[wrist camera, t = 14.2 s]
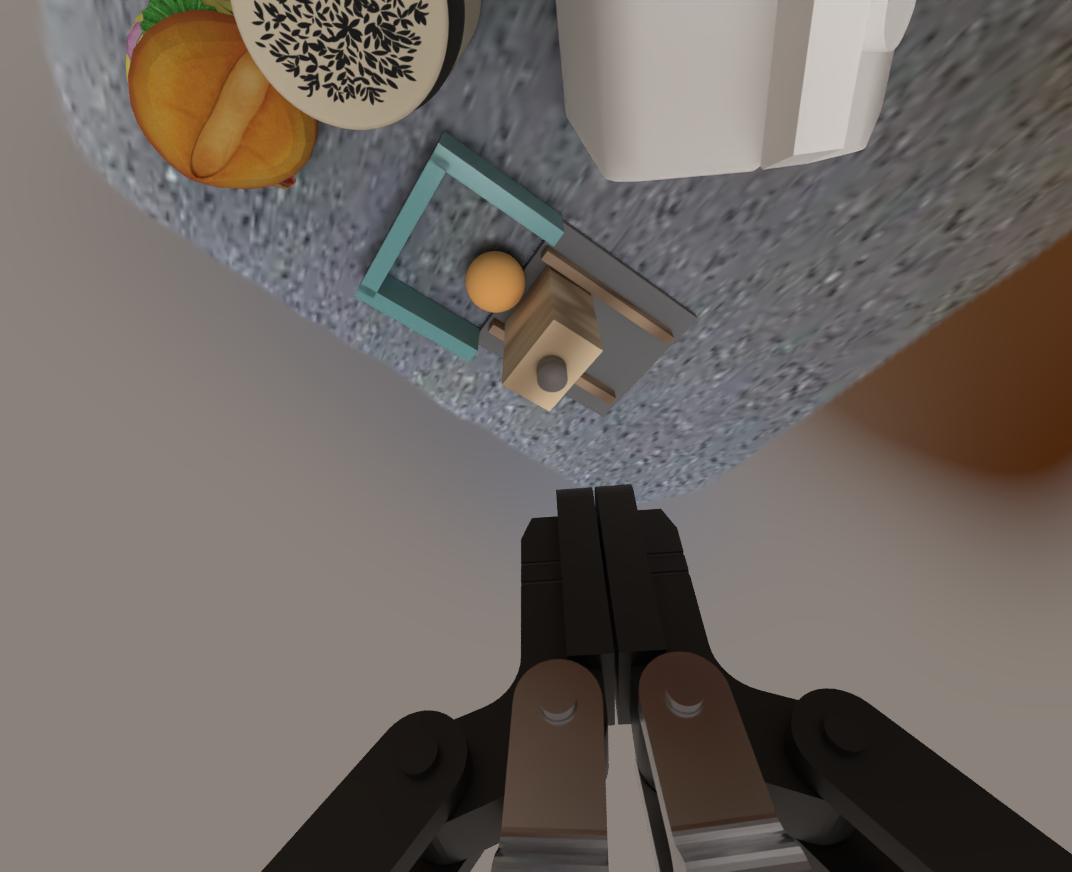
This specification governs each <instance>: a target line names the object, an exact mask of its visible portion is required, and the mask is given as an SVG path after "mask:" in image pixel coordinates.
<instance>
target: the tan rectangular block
mask: <svg viewBox="0 0 1072 872" xmlns="http://www.w3.org/2000/svg"><path fill="white" fill-rule="evenodd" d="M602 351H603V348H602V343H601V338H600V333H599V329H598V324H597V319H596V314H595V309H594V304H593V300H592V295H591V293H590V292H588V291H587V290H585V289H584V288H582V287H581V286H579V285H578V284H576V283H575V282H573V281H572V280H570V279H569V278H567V277H566V276H564V275H563V274H562V273H560V272H559V271H557V270H556V269H554V268H553V267H551V266H550V265H548V264H547V266H546V267H545V269H544V270H543V271H542V273H541V274H540V275H539V277H538V278H537V279H536V281H535V282H534V283H533V285H532V286H531V287H530V289H529V290H528V291H527V293H526V294H525V296H524V297H523V298H522V300H521V301H520V302H519V304H518V305H517V306H516V308H515V309H514V310H513V312H512V313H511V314H510V316H509V317H508V318H507V320H506V321H505V332H504V353H503V375H502V385H503V386H505V387H507V388H509V389H510V390H512V391H514V392H516V393H517V394H519V395H521V396H523V397H525V398H526V399H528V400H530V401H532V402H534V403H535V404H537V405H539V406H541V407H542V408H544V409H546V410H548V411H550V410H551V409H552V408H553V407H554V406H555V405H556V403H557V402H558V401H559V400H560V399H561V398H562V397H563V396H564V394H565V393H566V392H567V391H568V390H569V389H570V388H571V386H572V385H573V384H574V383H575V382H576V381H577V380H578V379H579V377H580V376H581V375H582V374H583V373H584V372H585V371H586V370H587V368H588V367H589V366H590V365H591V364H592V363H593V362H594V360H595V359H596V358H597V357H598V356H599V355H600V354H601V353H602Z"/></svg>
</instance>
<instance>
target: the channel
mask: <svg viewBox="0 0 1072 872" xmlns="http://www.w3.org/2000/svg"><path fill="white" fill-rule="evenodd" d="M541 260H542V261H544V262H545V263H547V264H548V265H550V266H551V267H553V268H554V269H556V270H557V271H559V272H560V273H562V274H563V275H564V276H566V277H567V278H569V279H570V280H572V281H573V282H575V283H576V284H578V285H579V286H581V287H582V288H584V289H585V290H587V291H588V292H590V293H591V294H593V295H594V296H596V297H597V298H599V299H600V300H601V301H603V302H604V303H606V304H607V305H609V306H610V307H612V308H613V309H615V310H616V311H618V312H619V313H621V314H622V315H624V316H625V317H627V318H628V319H630V320H631V321H633V322H634V323H636V324H637V325H638V326H640V327H641V328H643V329H644V330H646V331H647V332H649V333H650V334H652V335H653V336H655V337H656V338H658V339H659V340H661V341H662V342H664V343H665V344H667V345H668V344H669V343H670V341H671V340H672V339H673V338H674V336H673V334H672V331H671V330H670V329H668V328H667V327H666V326H664V325H663V324H661V323H660V322H658V321H657V320H655V319H654V318H653V317H651V316H650V315H648V314H647V313H645V312H644V311H642V310H641V309H639V308H638V307H637V306H635V305H634V304H632V303H631V302H629V301H628V300H626V299H625V298H624V297H622V296H621V295H619V294H618V293H616V292H615V291H613V290H612V289H611V288H609V287H608V286H606V285H605V284H603V283H602V282H600V281H599V280H597V279H596V278H595V277H593V276H592V275H590V274H589V273H587V272H586V271H584V270H583V269H582V268H580V267H579V266H577V265H576V264H574V263H573V262H571V261H570V260H568V259H567V258H566V257H564V256H563V255H561V254H560V253H558V252H557V251H555V250H554V249H553V248H551V247H550V246H548V245H546V247H545V248H544V249H543V251H542V252H541ZM488 332H489V333H491V334H492V335H494V336H496V337H497V338H499V339H501V340H502V341H504V332H505V324H504V323H503V322H501V321H499V320H498V319H496V318H493V320H492V321H491V323H490V324H489V329H488ZM575 384H576V385H578V386H580V387H581V388H583V389H585V390H586V391H588V392H590V393H591V394H593V395H595V396H596V397H598V398H600V399H602V400H603V401H605V402H607V403H608V404H611V403H612V402H613V401H614V400H615V399H616V395H615V391H614V390H613V389H611V388H609V387H608V386H606V385H604V384H603V383H601V382H600V381H598V380H596V379H595V378H593V377H591V376H590V375H588V374H586V373H585V372H584V373H583V374H582V375H581V376H580V377H579V379H578V380H577V381H576V382H575Z"/></svg>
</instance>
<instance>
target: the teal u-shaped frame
mask: <svg viewBox="0 0 1072 872" xmlns="http://www.w3.org/2000/svg"><path fill="white" fill-rule="evenodd" d="M446 172H447V173H448V174H450V175H451V176H453V177H454V178H455V179H457V180H458V181H460V182H461V183H463V184H464V185H466V186H467V187H468V188H470V189H471V190H473V191H474V192H476V193H477V194H479V195H480V196H481V197H483V198H484V199H486V200H487V201H489V202H490V203H492V204H493V205H494V206H496V207H497V208H499V209H500V210H502V211H503V212H505V213H506V214H507V215H509V216H510V217H512V218H513V219H515V220H516V221H518V222H519V223H520V224H522V225H523V226H525V227H526V228H528V229H529V230H531V231H532V232H533V233H535V234H536V235H538V236H539V237H541V238H542V239H544V240H545V241H546V242H548V243H549V244H551V245H552V246H555V244H556V243H557V242H558V240H559V239H560V238H561V236H562V235H563V234H564V227H563V220H562V215H561V214H560V213H558V212H557V211H555V210H554V209H553V208H551V207H550V206H548V205H547V204H546V203H544V202H543V201H541V200H540V199H539V198H537V197H536V196H535V195H533V194H532V193H530V192H529V191H528V190H526V189H525V188H523V187H522V186H521V185H519V184H518V183H517V182H515V181H514V180H512V179H511V178H510V177H508V176H507V175H505V174H504V173H503V172H501V171H500V170H499V169H497V168H496V167H494V166H493V165H492V164H490V163H489V162H487V161H486V160H485V159H483V158H482V157H481V156H479V155H478V154H476V153H475V152H474V151H472V150H471V149H469V148H468V147H467V146H465V145H464V144H463V143H461V142H460V141H458V140H457V139H456V138H454V137H453V136H451V135H450V134H449V133H447V132H446V131H445V130H444V132H443V134H442V136H441V138H440V139H439V141H438V143H437V145H436V147H435V148H434V150H433V152H432V154H431V156H430V158H429V159H428V161H427V163H426V165H425V167H424V169H423V170H422V172H421V174H420V176H419V178H418V179H417V181H416V183H415V185H414V187H413V189H412V190H411V192H410V194H409V196H408V198H407V199H406V201H405V203H404V205H403V207H402V209H401V210H400V212H399V214H398V216H397V218H396V219H395V221H394V223H393V225H392V227H391V229H390V230H389V232H388V234H387V236H386V238H385V239H384V241H383V243H382V245H381V247H380V249H379V250H378V252H377V254H376V256H375V258H374V260H373V261H372V263H371V265H370V267H369V269H368V270H367V272H366V274H365V276H364V278H363V280H362V282H361V284H360V286H359V288H358V290H357V292H356V294H355V296H354V297H356V298H358V299H360V300H361V301H363V302H365V303H367V304H368V305H370V306H372V307H374V308H375V309H377V310H379V311H381V312H383V313H384V314H386V315H388V316H390V317H391V318H393V319H395V320H397V321H398V322H400V323H402V324H404V325H406V326H407V327H409V328H411V329H413V330H414V331H416V332H418V333H420V334H421V335H423V336H425V337H427V338H429V339H430V340H432V341H434V342H436V343H437V344H439V345H441V346H443V347H444V348H446V349H448V350H450V351H452V352H453V353H455V354H457V355H459V356H460V357H462V358H464V359H466V360H468V361H469V362H470V360H471V359H472V358H473V356H474V355H475V354H476V352H477V351H478V343H479V334H480V328H478V327H476V326H475V325H473V324H471V323H470V322H468V321H466V320H465V319H463V318H461V317H460V316H458V315H456V314H454V313H453V312H451V311H449V310H448V309H446V308H444V307H443V306H441V305H439V304H438V303H436V302H434V301H433V300H431V299H429V298H428V297H426V296H424V295H422V294H421V293H419V292H417V291H416V290H414V289H412V288H411V287H409V286H407V285H406V284H404V283H402V282H401V281H399V280H397V279H396V278H394V277H392V276H390V275H389V274H388V272H389V270H390V269H391V267H392V265H393V263H394V262H395V260H396V258H397V256H398V255H399V253H400V251H401V249H402V248H403V246H404V244H405V242H406V241H407V239H408V237H409V235H410V234H411V232H412V230H413V228H414V227H415V225H416V223H417V221H418V220H419V218H420V216H421V214H422V213H423V211H424V209H425V208H426V206H427V204H428V202H429V201H430V199H431V197H432V195H433V194H434V192H435V190H436V188H437V187H438V185H439V183H440V181H441V180H442V178H443V176H444V174H445V173H446Z"/></svg>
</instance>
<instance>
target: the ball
mask: <svg viewBox="0 0 1072 872" xmlns="http://www.w3.org/2000/svg"><path fill="white" fill-rule="evenodd" d="M465 283H466V289H467V292H468V295H469V297H470V298H471V300H472V301H473V302H474V304H476V305H477V306H478V307H479V308H481V309H483V310H485V311H488V312H493V313H498V312H504V311H507V310H509V309H511V308H512V307H514V306H515V305H516V304H517V303H518V302H519V300H520V299H521V297H522V295H523V293H524V289H525V276H524V272H523V270H522V267H521V266H520V264H519V263H518V262H517V261H516V259H514V258H513V257H512V256H510V255H509V254H507V253H504V252H500V251H490V252H486V253H483V254H481V255H479V256H478V257H477V258H476V259H474V260H473V262H472V263H471V264H470V266H469V268H468V270H467V273H466V281H465Z"/></svg>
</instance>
